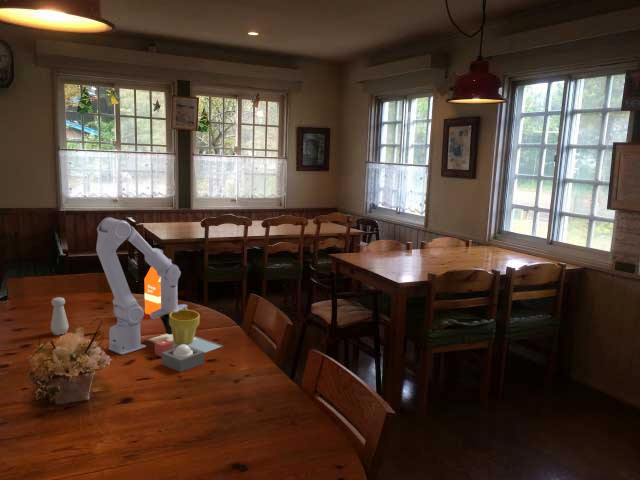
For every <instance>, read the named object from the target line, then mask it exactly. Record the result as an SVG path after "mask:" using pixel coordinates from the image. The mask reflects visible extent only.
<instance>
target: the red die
mask: <svg viewBox="0 0 640 480" xmlns="http://www.w3.org/2000/svg"><path fill="white" fill-rule="evenodd" d="M171 349H173V342H170V341H168V340H162V341H158V342H155V343H154V355H156V356H158V357H160V358H162V352H165V351H168V350H171Z"/></svg>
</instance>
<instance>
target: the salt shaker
mask: <svg viewBox="0 0 640 480" xmlns="http://www.w3.org/2000/svg"><path fill="white" fill-rule="evenodd" d="M65 304H66V300H65V298H64V297H60V296H59V297H53V298H52V299H51V306H53V309H52V317H51V322H50V330H51V332H52V335H54V336H61V335H60V334H64V333H65V334H67V332H68V330H69V327H70V326H69V322H68V317H67V315H66V310H65V307H64V305H65ZM65 334H64V335H65Z"/></svg>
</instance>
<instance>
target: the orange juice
mask: <svg viewBox="0 0 640 480" xmlns="http://www.w3.org/2000/svg"><path fill="white" fill-rule="evenodd" d="M160 278H161V277H160V276H158V275H157V271H156V270H155V269H154V268H153V267H151V266H150V268H149V270H148V272H147V274H146V275H145V277H144V279H143V280H144V315H148V314H149V315H148V316H150V313H151V312H154V311H156V310H158V309H160V308H161V281H160ZM157 319H160V318H159V317H158V318H157Z"/></svg>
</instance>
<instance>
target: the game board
mask: <svg viewBox="0 0 640 480" xmlns="http://www.w3.org/2000/svg"><path fill="white" fill-rule="evenodd" d="M162 340H168V341H170V342H173V349H174V348H177V347H178V346H179V345H182V344H177V343H175V342H174V340H173V334H171V335H169V334H166V333H164V334H162V335H161V334H160V335H159V336H154V337H151V338H149V339H146V341H147V342H150V343H153V344H155V342H158V341H162ZM185 345H188V346H190V347H192V348H195V349H198V350H201V351H203V352H204V354H206V353H208V352H211V351H214V350H217V349H220V348H222V347H224V345H222V344H219V343H217V342H214V341H211V340H209V339H205V338H202V337H199V336H197V335H195V336H194V339H193V342H192V343H190V344H185Z"/></svg>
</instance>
